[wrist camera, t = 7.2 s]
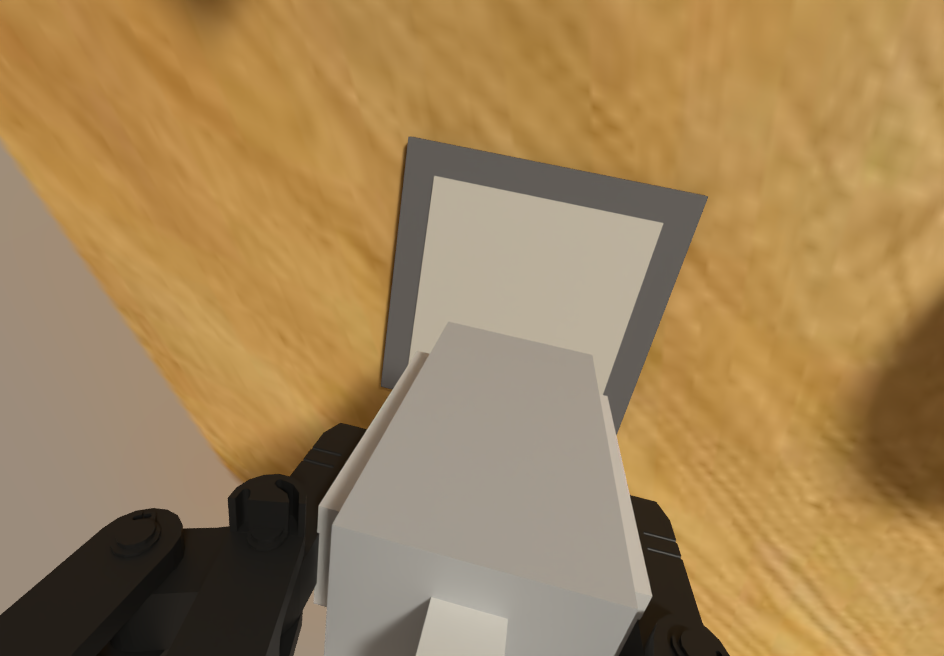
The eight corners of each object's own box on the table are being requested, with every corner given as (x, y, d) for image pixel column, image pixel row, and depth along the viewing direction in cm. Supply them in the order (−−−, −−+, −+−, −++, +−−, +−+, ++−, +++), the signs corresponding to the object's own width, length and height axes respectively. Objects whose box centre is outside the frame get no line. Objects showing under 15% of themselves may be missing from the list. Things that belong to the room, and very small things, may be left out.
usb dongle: (448, 321, 14) (258, 653, 5) (592, 354, 13) (668, 779, 5) (428, 436, 16) (266, 827, 7) (554, 468, 15) (557, 927, 6)
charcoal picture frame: (412, 136, 22) (407, 136, 21) (704, 195, 20) (708, 197, 20) (384, 381, 27) (380, 387, 27) (611, 437, 26) (613, 444, 26)
